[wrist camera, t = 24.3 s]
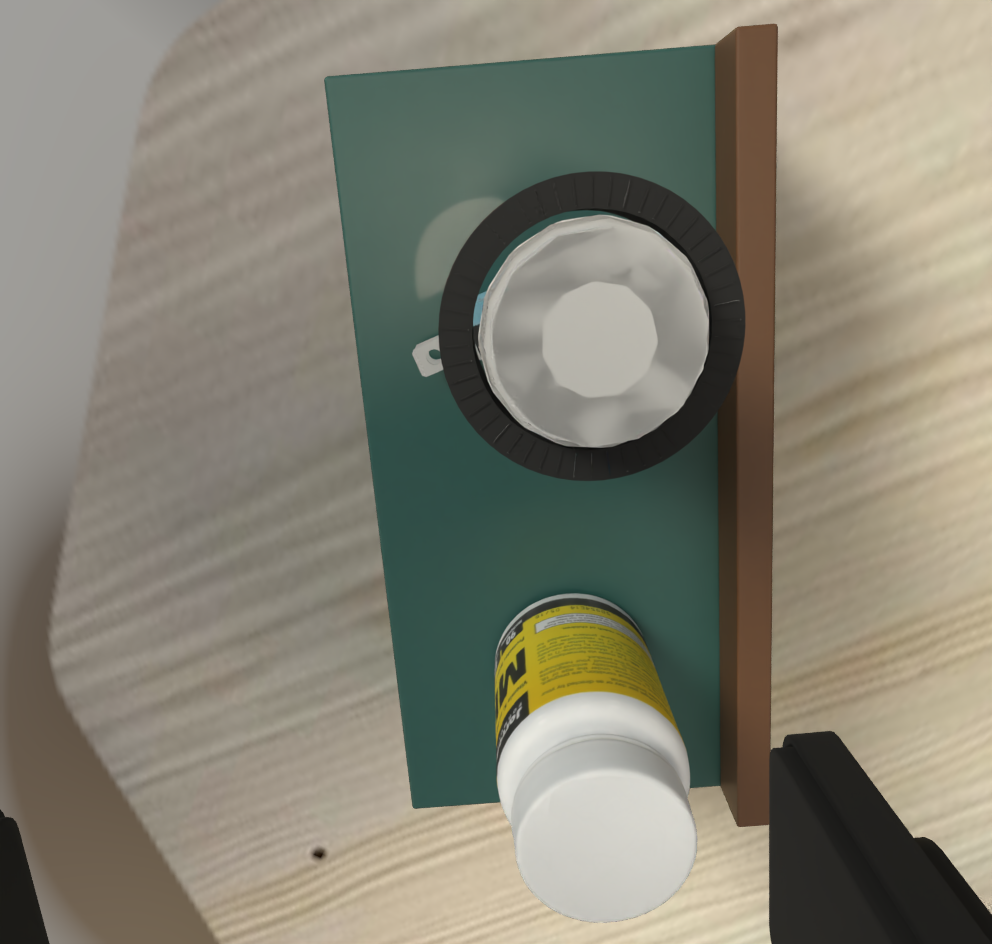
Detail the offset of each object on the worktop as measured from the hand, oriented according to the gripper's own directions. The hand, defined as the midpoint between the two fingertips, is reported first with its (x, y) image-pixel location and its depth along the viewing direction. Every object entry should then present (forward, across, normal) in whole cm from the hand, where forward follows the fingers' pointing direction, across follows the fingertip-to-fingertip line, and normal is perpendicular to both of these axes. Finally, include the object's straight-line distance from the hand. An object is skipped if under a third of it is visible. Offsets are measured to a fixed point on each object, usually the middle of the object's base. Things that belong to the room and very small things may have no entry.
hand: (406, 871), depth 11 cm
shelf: (+21, -4, -1) cm, 21 cm away
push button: (+15, -3, -6) cm, 16 cm away
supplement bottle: (+15, -3, +5) cm, 17 cm away
